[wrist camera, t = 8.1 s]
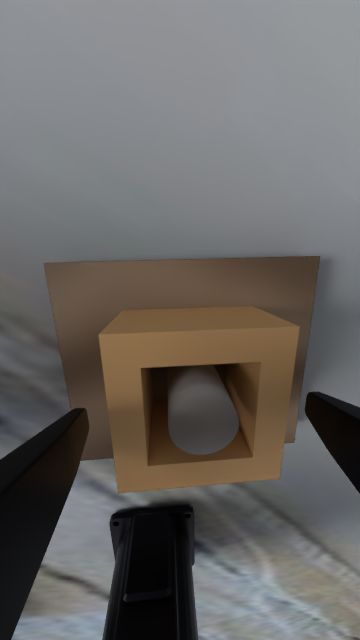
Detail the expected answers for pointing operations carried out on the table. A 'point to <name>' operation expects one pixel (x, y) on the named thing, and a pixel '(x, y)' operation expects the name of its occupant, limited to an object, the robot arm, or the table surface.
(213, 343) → the tan square ring
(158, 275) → the keeper plate
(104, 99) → the table surface
